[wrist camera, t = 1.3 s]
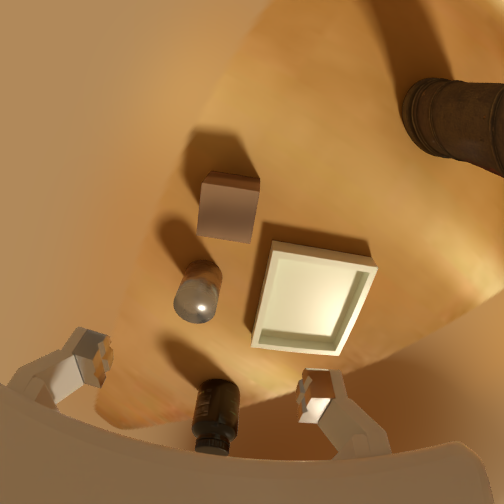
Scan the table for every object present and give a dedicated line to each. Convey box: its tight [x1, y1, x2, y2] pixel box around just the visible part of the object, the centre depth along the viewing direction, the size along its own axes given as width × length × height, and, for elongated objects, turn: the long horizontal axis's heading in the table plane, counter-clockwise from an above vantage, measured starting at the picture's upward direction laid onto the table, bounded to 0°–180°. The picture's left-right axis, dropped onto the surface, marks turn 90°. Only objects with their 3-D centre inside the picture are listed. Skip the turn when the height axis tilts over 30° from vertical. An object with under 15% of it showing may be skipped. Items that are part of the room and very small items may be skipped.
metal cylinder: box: [173, 260, 222, 324], centre depth 32 cm, size 4×4×6 cm
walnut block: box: [197, 171, 260, 244], centre depth 28 cm, size 5×5×5 cm
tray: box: [251, 240, 378, 356], centre depth 35 cm, size 14×12×2 cm
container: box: [402, 78, 504, 178], centre depth 17 cm, size 9×9×18 cm
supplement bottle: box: [192, 379, 240, 456], centre depth 40 cm, size 7×7×12 cm
